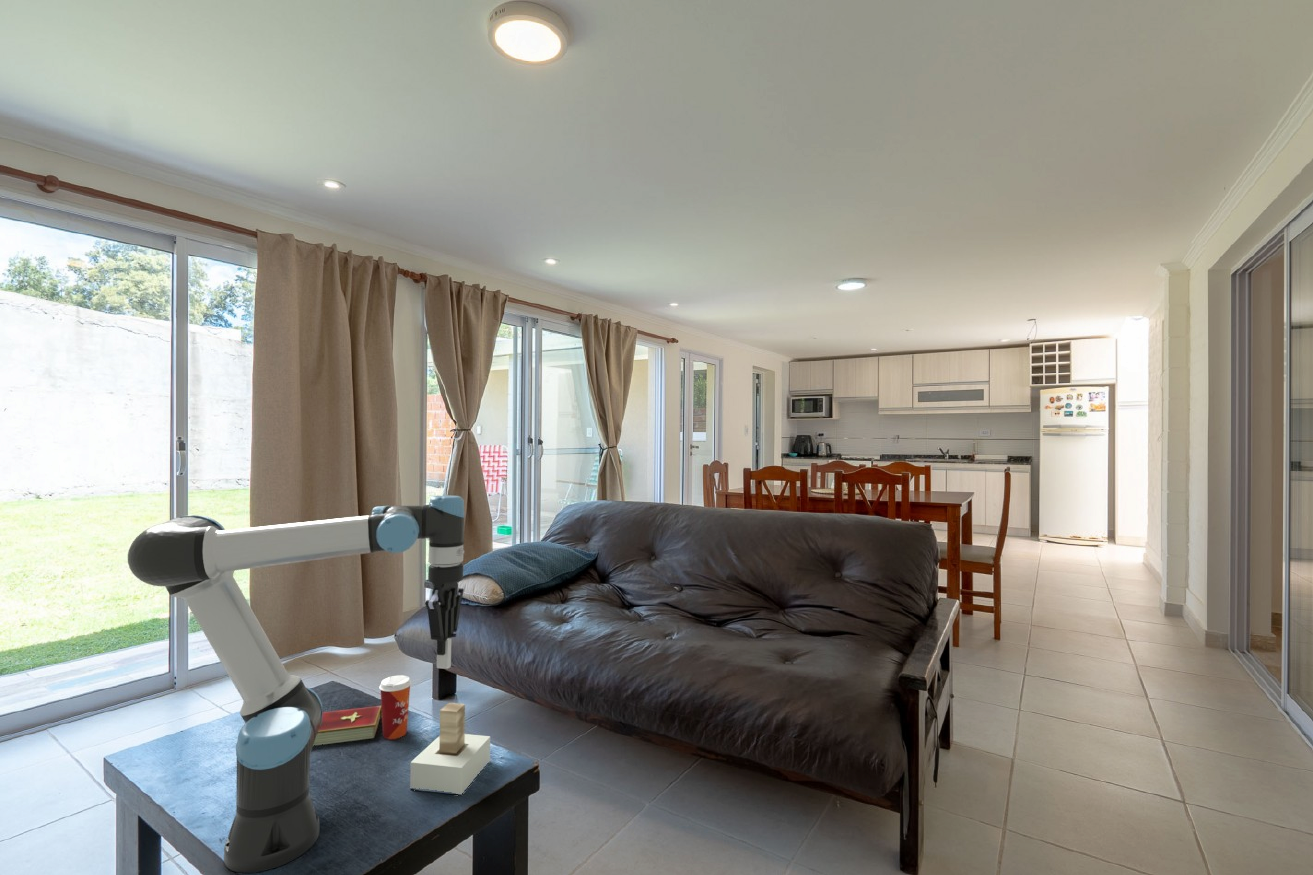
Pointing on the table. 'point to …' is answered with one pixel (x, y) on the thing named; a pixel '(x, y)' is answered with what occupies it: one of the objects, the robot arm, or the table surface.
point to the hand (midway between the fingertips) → (443, 667)
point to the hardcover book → (348, 725)
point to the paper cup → (395, 705)
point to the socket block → (450, 765)
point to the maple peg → (452, 729)
